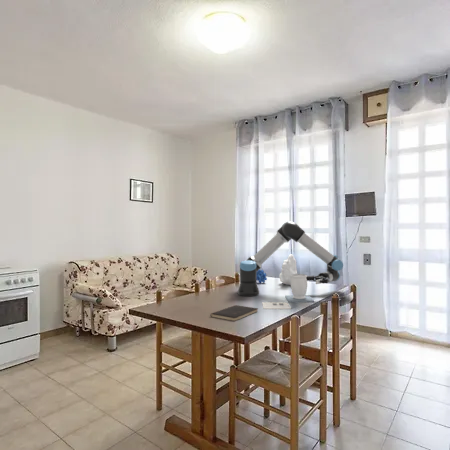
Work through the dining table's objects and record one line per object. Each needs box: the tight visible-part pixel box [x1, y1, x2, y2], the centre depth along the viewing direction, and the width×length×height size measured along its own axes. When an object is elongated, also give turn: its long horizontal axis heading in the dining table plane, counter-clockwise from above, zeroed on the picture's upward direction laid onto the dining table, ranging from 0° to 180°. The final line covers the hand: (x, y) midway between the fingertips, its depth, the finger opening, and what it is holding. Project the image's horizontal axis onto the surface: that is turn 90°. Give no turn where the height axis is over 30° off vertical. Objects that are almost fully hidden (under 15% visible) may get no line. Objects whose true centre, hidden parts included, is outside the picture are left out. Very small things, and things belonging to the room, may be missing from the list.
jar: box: [290, 273, 308, 299], centre depth 219 cm, size 11×10×15 cm
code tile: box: [261, 301, 292, 310], centre depth 203 cm, size 16×16×1 cm
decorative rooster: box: [278, 253, 298, 286], centre depth 276 cm, size 25×16×25 cm, turn 138°
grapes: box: [256, 268, 268, 284], centre depth 285 cm, size 12×7×12 cm, turn 66°
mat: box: [284, 294, 315, 303], centre depth 219 cm, size 16×16×1 cm
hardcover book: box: [210, 304, 259, 321], centre depth 185 cm, size 16×23×2 cm
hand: (307, 280), depth 226 cm, fingers open, 13 cm apart
